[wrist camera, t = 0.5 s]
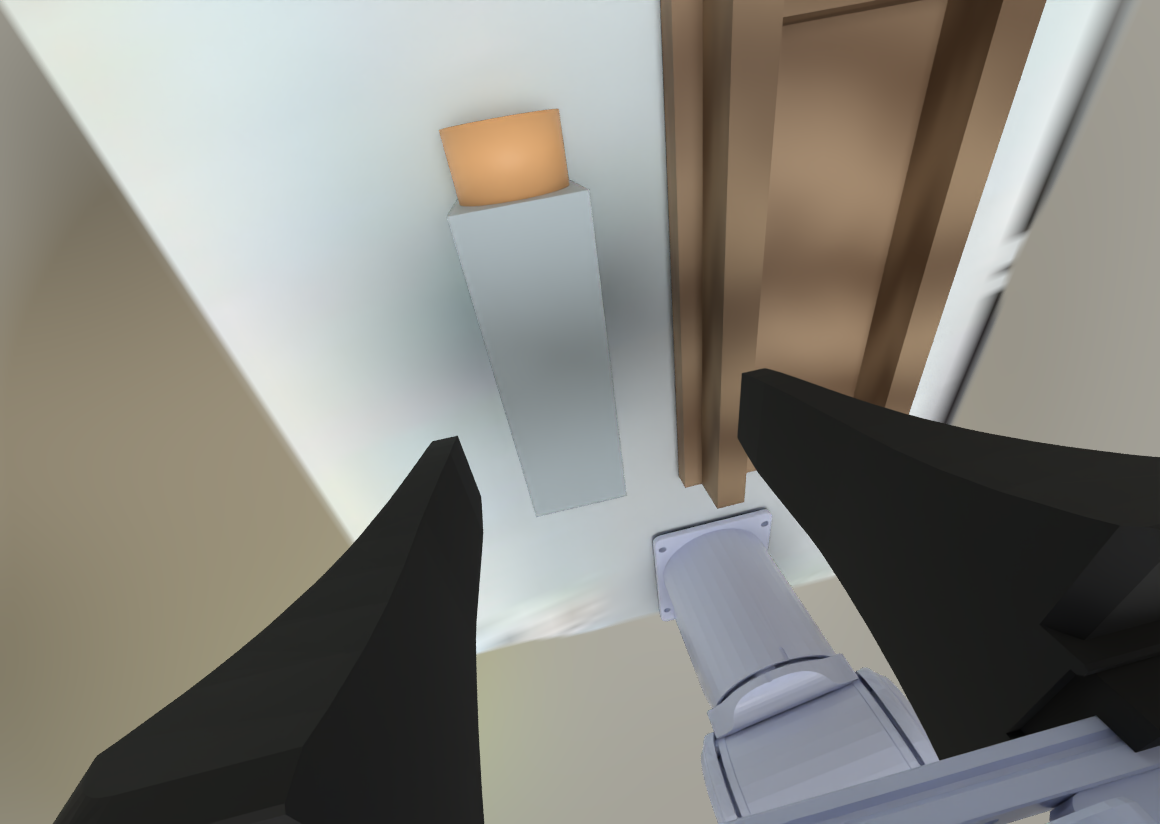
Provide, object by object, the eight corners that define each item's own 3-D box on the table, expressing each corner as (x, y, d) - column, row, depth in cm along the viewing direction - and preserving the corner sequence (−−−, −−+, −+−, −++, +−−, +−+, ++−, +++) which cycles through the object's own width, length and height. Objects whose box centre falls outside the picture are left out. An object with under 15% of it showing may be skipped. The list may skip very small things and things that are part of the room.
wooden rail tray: (868, 430, 26) (908, 461, 23) (678, 476, 25) (699, 513, 23) (1006, -70, 14) (1116, -116, 12) (659, -10, 13) (697, -43, 11)
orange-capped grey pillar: (601, 430, 23) (626, 495, 18) (528, 447, 22) (536, 517, 18) (554, 113, 15) (578, 102, 11) (441, 133, 15) (420, 130, 10)
